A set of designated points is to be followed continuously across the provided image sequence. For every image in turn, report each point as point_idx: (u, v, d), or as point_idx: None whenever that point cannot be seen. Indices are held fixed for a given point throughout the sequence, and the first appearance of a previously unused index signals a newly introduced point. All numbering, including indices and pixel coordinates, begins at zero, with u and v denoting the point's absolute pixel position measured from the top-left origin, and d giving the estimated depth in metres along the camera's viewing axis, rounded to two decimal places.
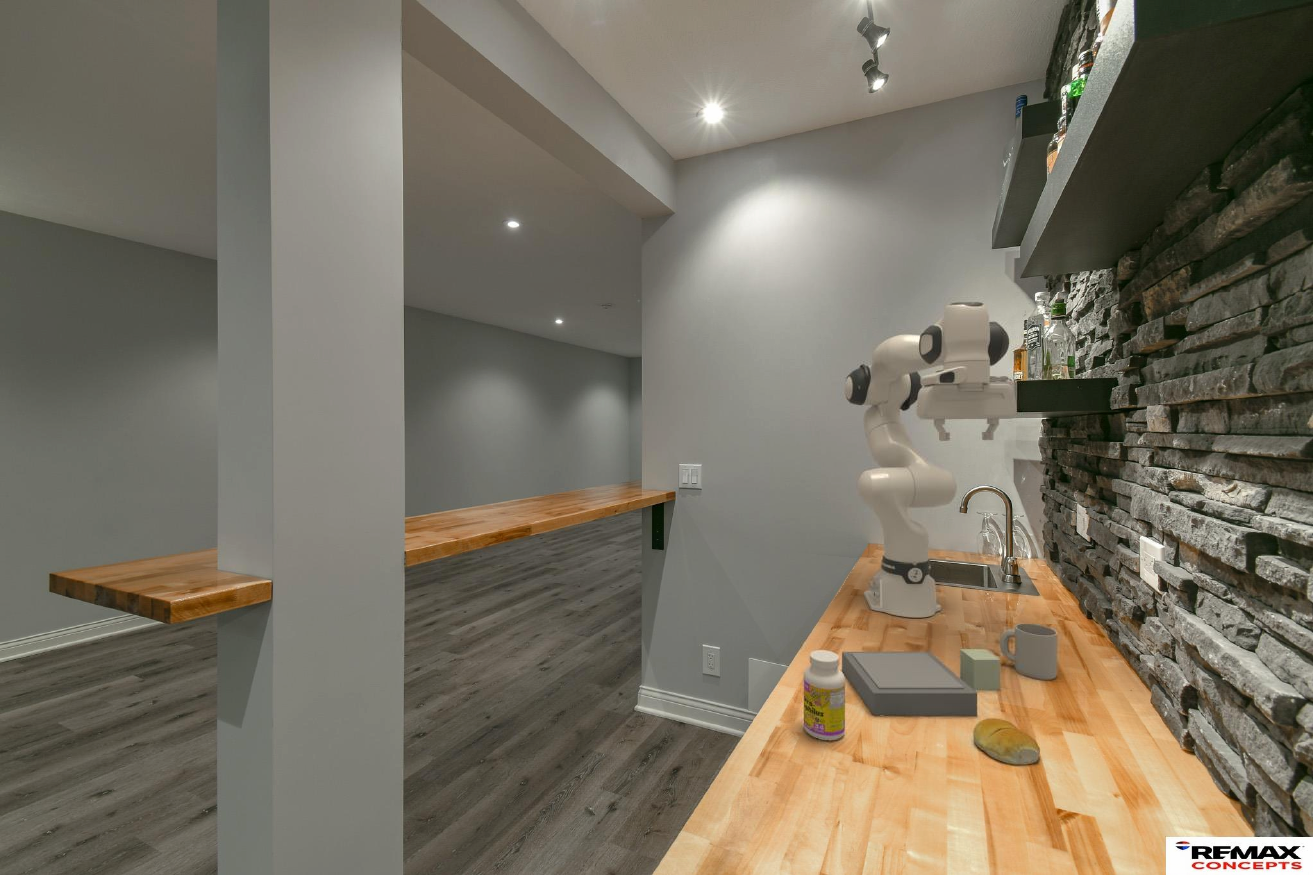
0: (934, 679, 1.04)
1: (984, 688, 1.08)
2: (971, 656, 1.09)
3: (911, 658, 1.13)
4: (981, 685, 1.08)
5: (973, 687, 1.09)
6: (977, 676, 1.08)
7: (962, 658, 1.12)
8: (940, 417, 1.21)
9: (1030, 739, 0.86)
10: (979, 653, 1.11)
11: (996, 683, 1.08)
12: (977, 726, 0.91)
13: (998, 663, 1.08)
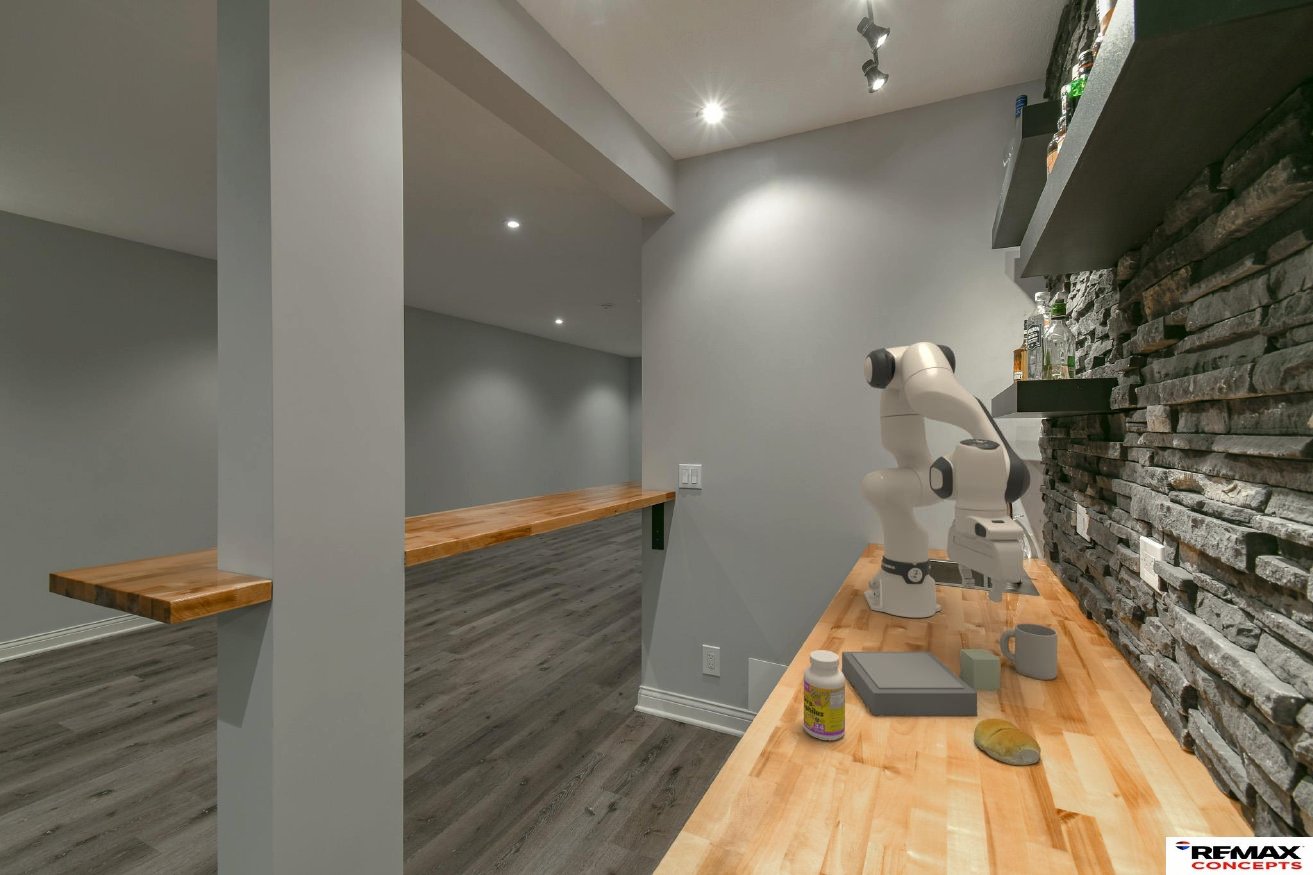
0: (934, 679, 1.04)
1: (984, 688, 1.08)
2: (971, 656, 1.09)
3: (911, 658, 1.13)
4: (981, 685, 1.08)
5: (973, 687, 1.09)
6: (977, 676, 1.08)
7: (962, 658, 1.12)
8: None
9: (1031, 739, 0.86)
10: (979, 653, 1.11)
11: (996, 683, 1.08)
12: (978, 726, 0.91)
13: (998, 663, 1.08)
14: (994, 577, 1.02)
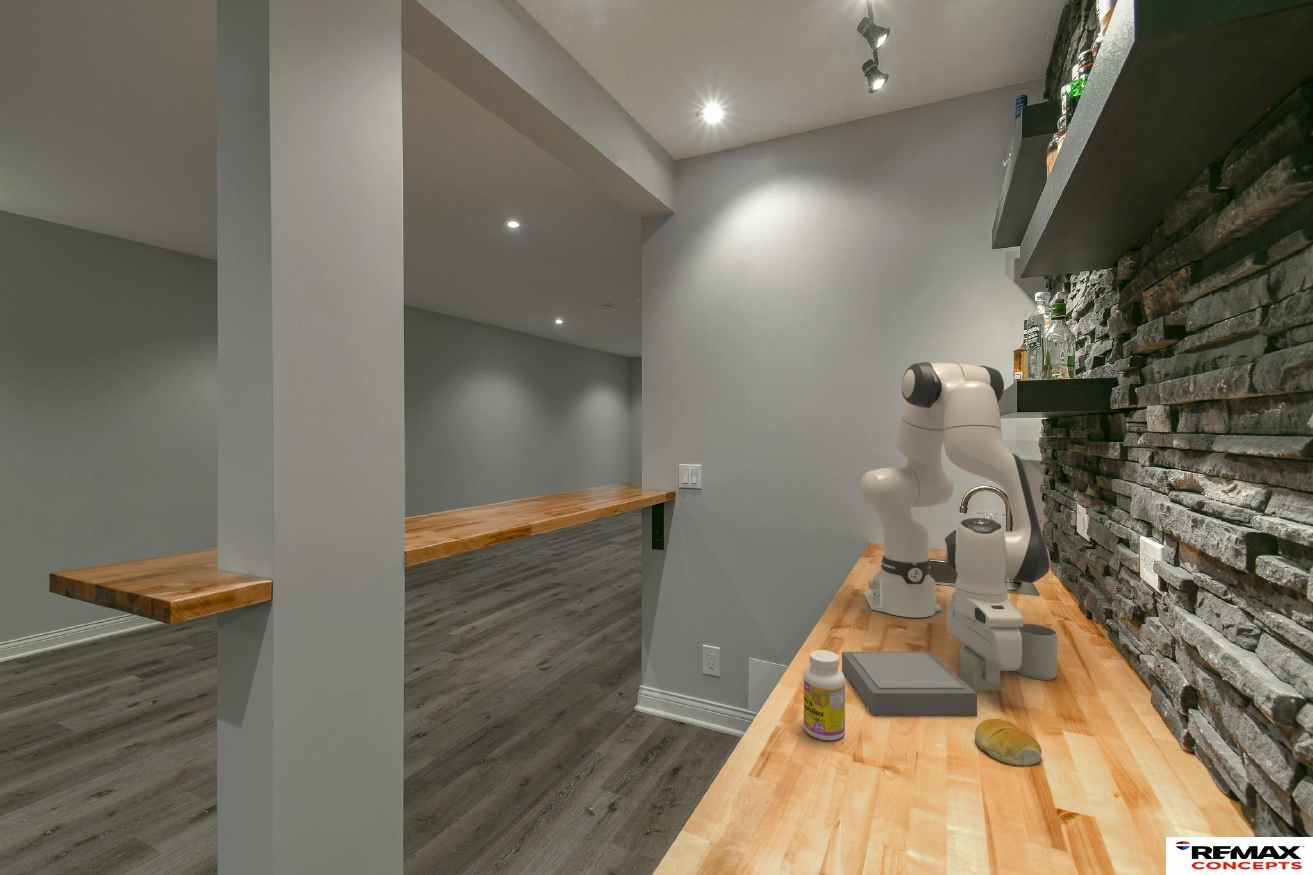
0: (934, 679, 1.04)
1: (984, 688, 1.08)
2: (971, 656, 1.09)
3: (911, 658, 1.13)
4: (981, 684, 1.08)
5: (973, 687, 1.09)
6: (977, 676, 1.08)
7: (962, 658, 1.12)
8: None
9: (1032, 740, 0.86)
10: None
11: (996, 683, 1.08)
12: (979, 727, 0.91)
13: None
14: (993, 663, 1.03)
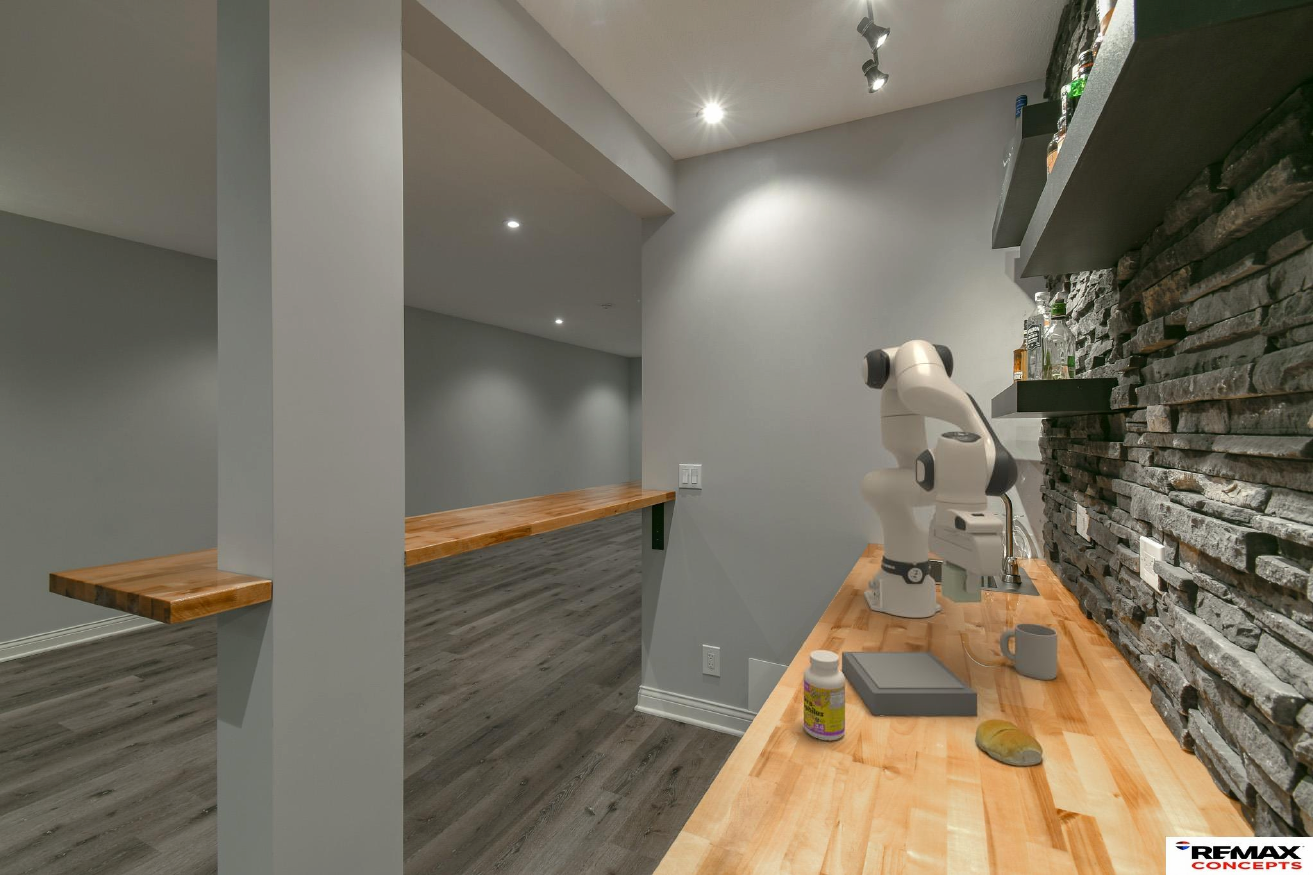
0: (934, 679, 1.04)
1: (965, 600, 1.07)
2: (952, 569, 1.08)
3: (911, 658, 1.13)
4: (962, 597, 1.07)
5: (954, 599, 1.07)
6: (958, 588, 1.07)
7: (943, 573, 1.11)
8: None
9: (1033, 740, 0.86)
10: (960, 567, 1.10)
11: (977, 595, 1.07)
12: (979, 727, 0.91)
13: None
14: (973, 571, 1.02)
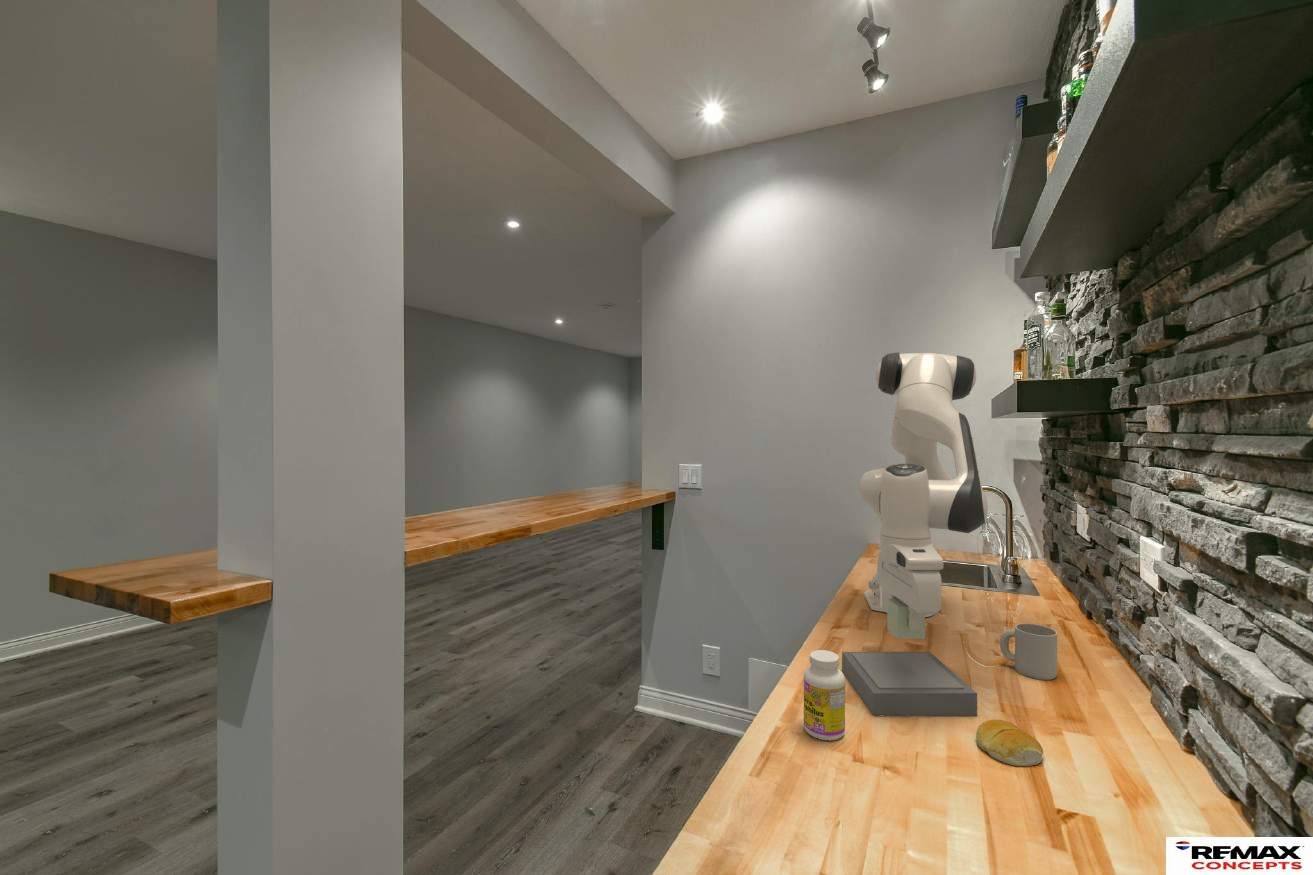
0: (934, 679, 1.04)
1: (908, 636, 1.05)
2: (895, 604, 1.06)
3: (911, 658, 1.13)
4: (906, 633, 1.05)
5: (897, 635, 1.05)
6: (901, 624, 1.05)
7: (888, 607, 1.09)
8: None
9: (1033, 740, 0.86)
10: None
11: (921, 631, 1.05)
12: (980, 727, 0.91)
13: None
14: (913, 608, 1.00)
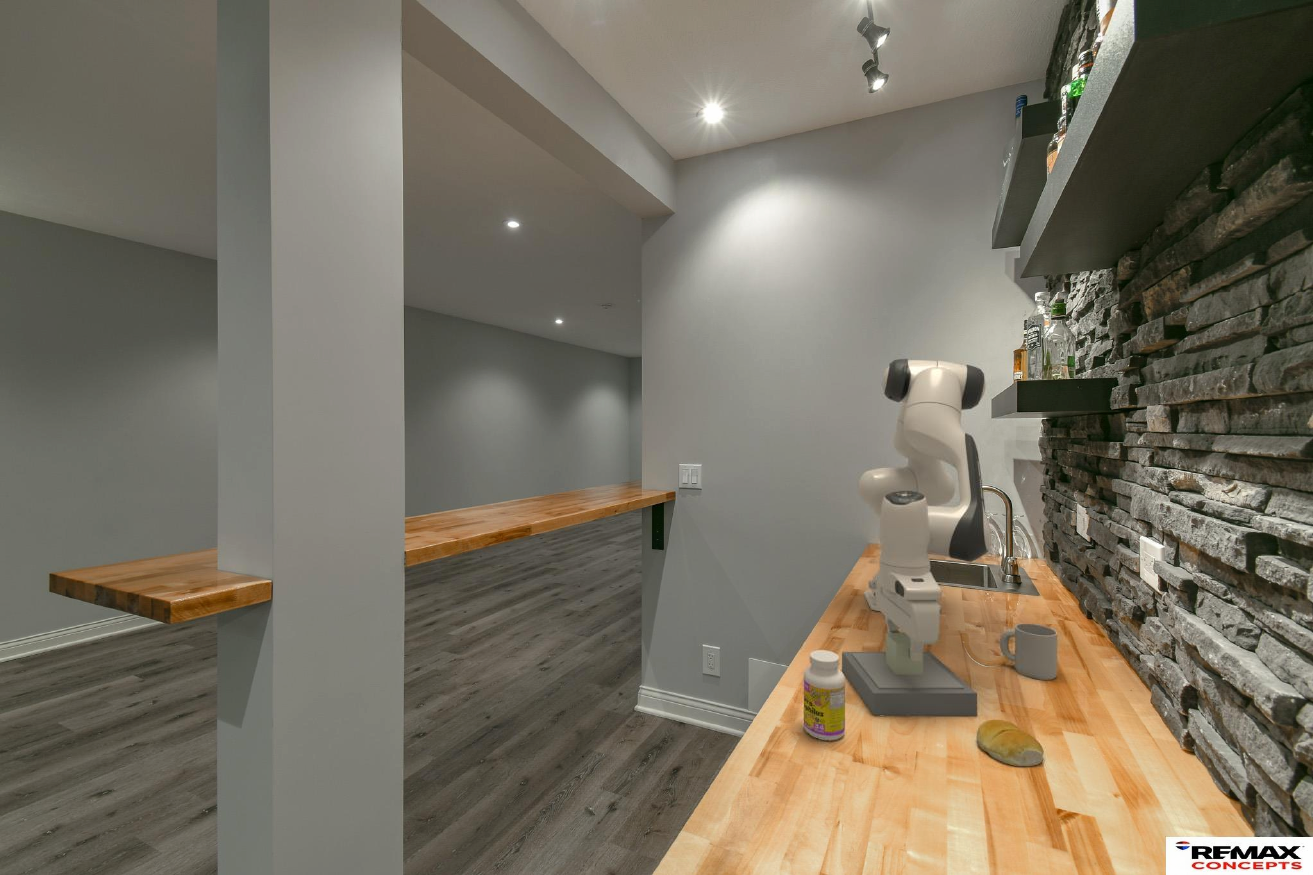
0: (934, 679, 1.04)
1: (906, 672, 1.06)
2: (894, 640, 1.07)
3: None
4: (904, 669, 1.06)
5: (895, 671, 1.06)
6: (899, 660, 1.06)
7: (887, 642, 1.10)
8: None
9: (1034, 741, 0.86)
10: (903, 637, 1.08)
11: (919, 667, 1.06)
12: (980, 728, 0.91)
13: None
14: (911, 637, 1.00)
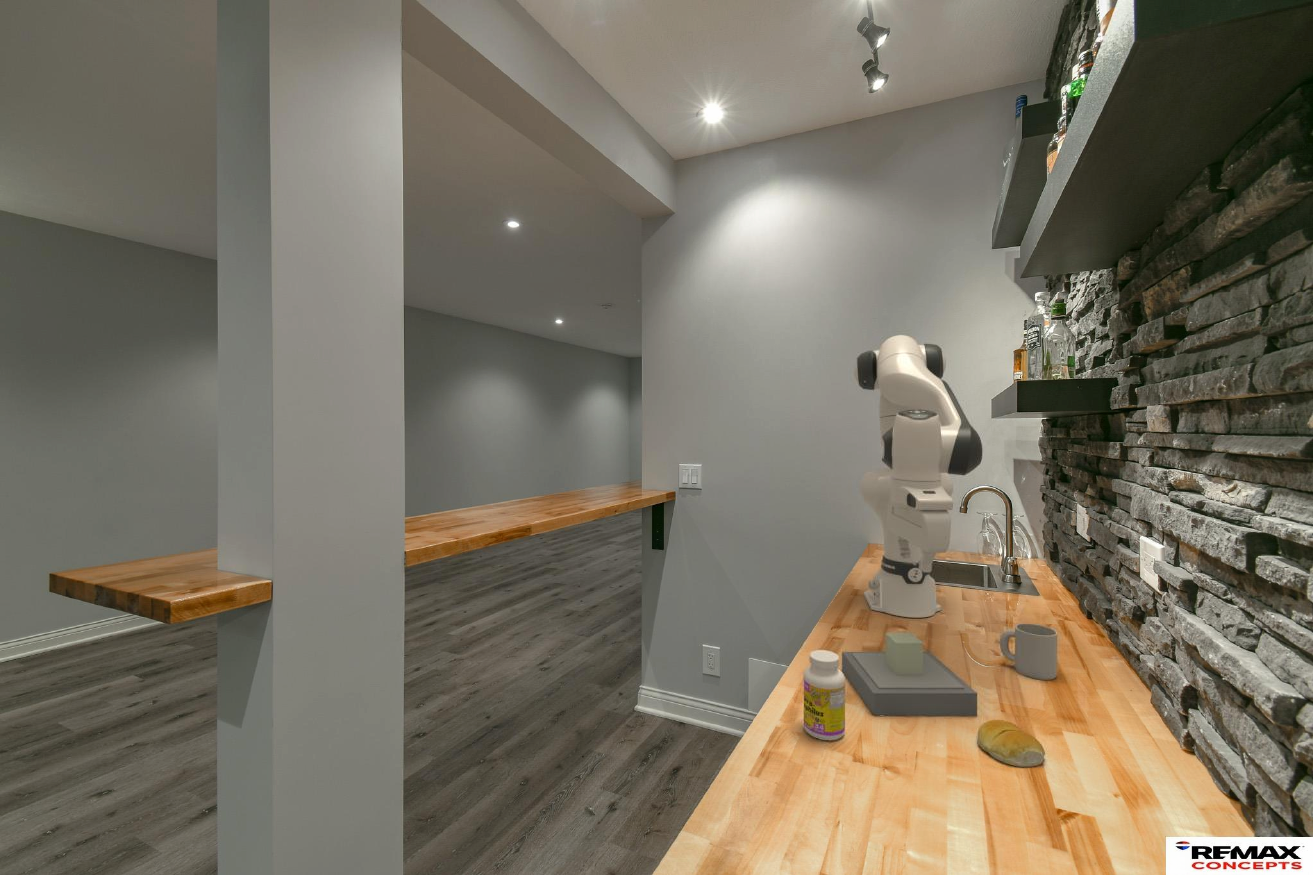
0: (934, 679, 1.04)
1: (906, 672, 1.06)
2: (894, 640, 1.07)
3: None
4: (904, 669, 1.06)
5: (895, 671, 1.06)
6: (899, 660, 1.06)
7: (887, 642, 1.10)
8: None
9: (1035, 741, 0.86)
10: (903, 637, 1.08)
11: (919, 667, 1.06)
12: (981, 728, 0.91)
13: (921, 647, 1.05)
14: (922, 547, 1.02)
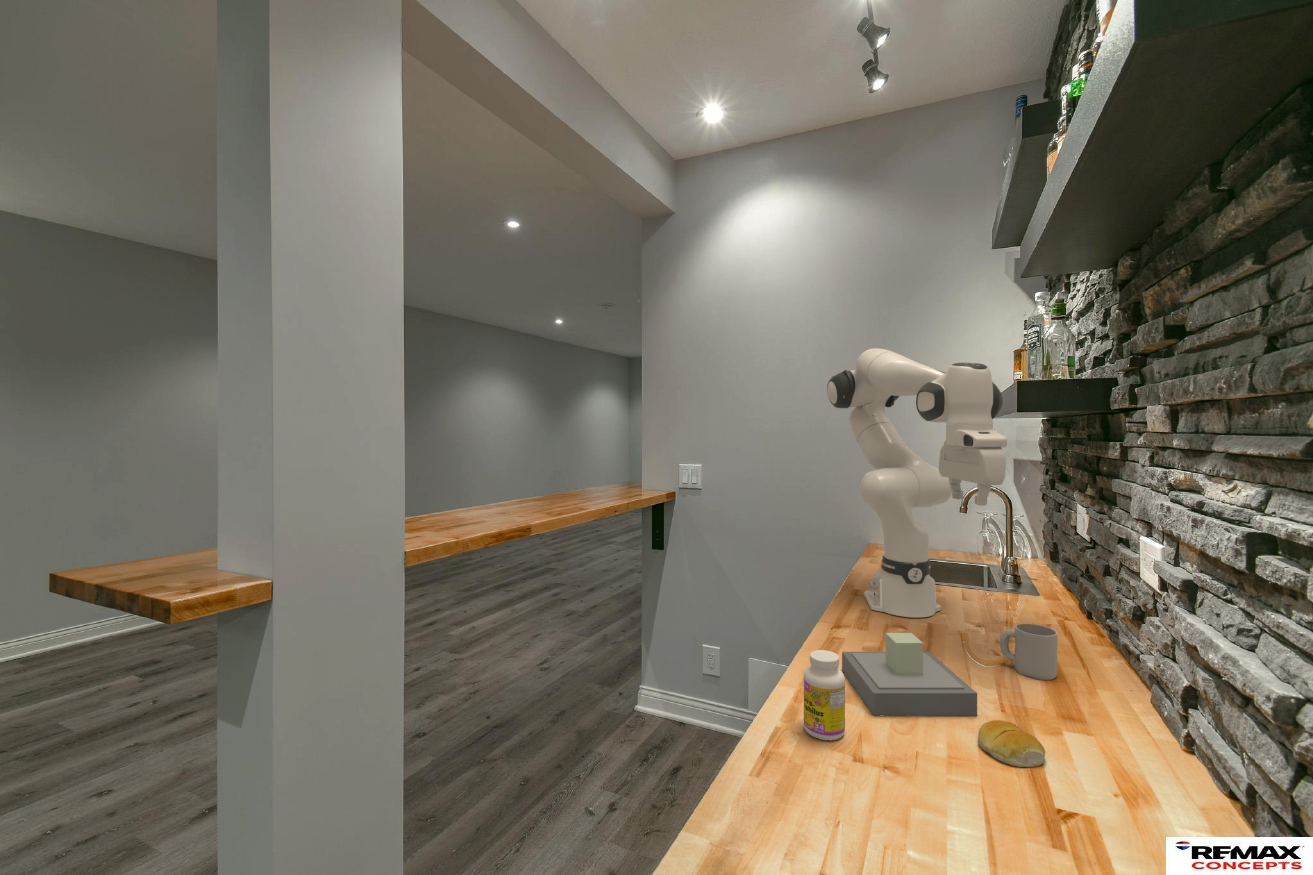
0: (934, 679, 1.04)
1: (906, 672, 1.06)
2: (894, 640, 1.07)
3: None
4: (904, 669, 1.06)
5: (895, 671, 1.06)
6: (899, 660, 1.06)
7: (887, 642, 1.10)
8: None
9: (1036, 741, 0.86)
10: (903, 637, 1.08)
11: (919, 667, 1.06)
12: (982, 728, 0.91)
13: (921, 647, 1.05)
14: (980, 481, 1.14)
